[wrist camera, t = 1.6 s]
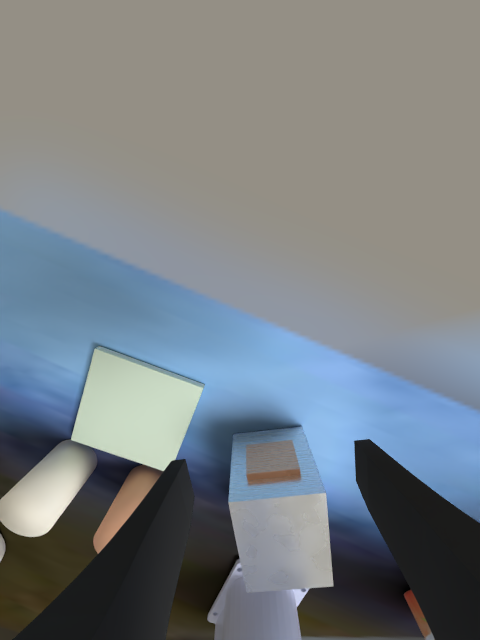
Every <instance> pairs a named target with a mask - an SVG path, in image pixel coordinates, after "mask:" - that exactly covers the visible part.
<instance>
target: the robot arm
mask: <svg viewBox="0 0 480 640" xmlns="http://www.w3.org/2000/svg"><path fill="white" fill-rule="evenodd" d="M354 443H355V467H356V482H357V484H358V487H359V489H360V491H361V494H362V496H363V499H364V501H365V503H366V505H367V508H368V510H369V512H370V514H371V516H372V518H373V520H374V521H375V523H376V525H377V527H378V529H379V531H380V533H381V535H382V536H383V538H384V540H385V542H386V544H387V546H388V548H389V549H390V551H391V553H392V555H393V557H394V559H395V560H396V562H397V564H398V566H399V568H400V570H401V572H402V573H403V575H404V577H405V579H406V581H407V583H408V585H409V586H410V588H411V590H412V592H413V594H414V596H415V598H416V600H417V602H418V604H419V606H420V608H421V610H422V613H423V615H424V617H425V619H426V621H427V623H428V626H429V628H430V630H431V632H432V634H433V636H434V639H435V640H480V523H478V522H477V521H475V520H474V519H473V518H471V517H470V516H468V515H467V514H465V513H464V512H462V511H461V510H460V509H458V508H457V507H455V506H454V505H453V504H451V503H450V502H448V501H447V500H446V499H444V498H443V497H441V496H440V495H439V494H437V493H436V492H435V491H433V490H432V489H431V488H429V487H428V486H427V485H426V484H424V483H423V482H422V481H420V480H419V479H418V478H417V477H415V476H414V475H413V474H411V473H410V472H409V471H408V470H406V469H405V468H404V467H403V466H401V465H400V464H399V463H398V462H397V461H395V460H394V459H393V458H392V457H390V456H389V455H388V454H387V453H386V452H384V451H383V450H382V449H381V448H380V447H378V446H377V445H376V444H375V443H373V442H372V441H371V440H370V439H367V440H358V441H354ZM193 504H194V493H193V489H192V485H191V480H190V476H189V472H188V468H187V464H186V460H185V459H182V460H173V461H171V462H170V463H169V465H168V466H167V467H166V469H165V470H164V472H163V473H162V474H161V476H160V477H159V478H158V480H157V481H156V482H155V484H154V485H153V487H152V488H151V489H150V491H149V492H148V493H147V495H146V496H145V497H144V499H143V500H142V501H141V503H140V504H139V505H138V506H137V508H136V509H135V510H134V512H133V513H132V514H131V516H130V517H129V518H128V519H127V520H126V522H125V523H124V524H123V525H122V527H121V528H120V529H119V530H118V531H117V533H116V534H115V535H114V536H113V538H112V539H111V540H110V541H109V542H108V543H107V545H106V546H105V547H104V548H103V549H102V550H101V551H100V553H99V554H98V555H97V556H96V557H95V558H94V559H93V560H92V561H91V563H90V564H89V565H88V566H87V567H86V568H85V569H84V570H83V571H82V572H81V573H80V574H79V575H78V576H77V578H76V579H75V580H74V581H73V582H72V583H71V584H70V585H69V586H68V587H67V588H66V589H65V590H64V591H63V592H62V593H61V594H60V595H59V596H58V597H57V598H56V599H55V600H54V601H53V602H52V603H51V604H50V605H49V606H48V607H47V608H46V609H45V610H44V611H43V612H42V613H41V614H39V615H38V616H37V617H36V618H35V619H34V620H33V621H32V622H31V623H30V624H29V625H28V626H27V627H26V628H25V629H24V630H22V631H21V632H20V633H19V634H18V635H17V636H16V637H15V638H14V639H13V640H165V639H166V633H167V627H168V622H169V617H170V612H171V608H172V603H173V599H174V595H175V590H176V586H177V582H178V578H179V573H180V569H181V565H182V561H183V557H184V552H185V548H186V544H187V539H188V535H189V531H190V526H191V519H192V512H193ZM308 590H309V588H305V589H291V590H278V591H265V592H252V593H246V588H245V583H244V578H243V573H242V568H241V563H240V559H238V560H237V561H236V563H235V565H234V567H233V568H232V570H231V572H230V574H229V576H228V578H227V580H226V581H225V583H224V585H223V587H222V589H221V591H220V593H219V594H218V596H217V598H216V600H215V602H214V604H213V606H212V607H211V609H210V611H209V613H208V618H207V619H208V621H209V622H211V623H214V624H216V625H215V637H214V640H301V634H300V627H299V620H298V614H297V606H298V605H299V603H300V602H301V600H302V599H303V597H304V596H305V594H306V593H307V591H308Z"/></svg>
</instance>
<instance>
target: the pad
mask: <svg viewBox="0 0 480 640" xmlns="http://www.w3.org/2000/svg"><path fill="white" fill-rule="evenodd" d="M204 385H205V384H202V383H199V382H196V381H194V380H191V379H188V378H185V377H183V376H180V375H177V374H175V373H172V372H169V371H166V370H164V369H161V368H158V367H155V366H153V365H150V364H147V363H145V362H142V361H139V360H136V359H134V358H131V357H128V356H125V355H123V354H120V353H117V352H115V351H112V350H109V349H106V348H104V347H101V346H99V347H97V348H95V350H94V353H93V357H92V361H91V365H90V369H89V372H88V376H87V380H86V384H85V388H84V392H83V395H82V399H81V403H80V407H79V411H78V414H77V418H76V422H75V426H74V430H73V433H72V437H71V440H72V441H75V442H78V443H81V444H84V445H87V446H90V447H93V448H96V449H99V450H102V451H105V452H108V453H111V454H114V455H117V456H120V457H123V458H126V459H129V460H132V461H135V462H138V463H141V464H144V465H147V466H150V467H153V468H156V469H159V470H161V471H164V470H165V469H166V467H167V466H168V465H169V463H170V462H171V461H173V460H175V459H176V456H177V454H178V451H179V449H180V446H181V444H182V441H183V439H184V436H185V434H186V431H187V429H188V426H189V423H190V421H191V418H192V416H193V413H194V411H195V408H196V406H197V403H198V401H199V398H200V396H201V393H202V391H203V388H204Z"/></svg>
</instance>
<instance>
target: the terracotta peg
mask: <svg viewBox="0 0 480 640" xmlns="http://www.w3.org/2000/svg"><path fill="white" fill-rule="evenodd" d="M163 472H164V471H161V470H159V469H156V468H153V467H150V466H147V465H140V466H137V467H135V468H133V469H132V470H131V471H130V473H129V474H128V476H127V478H126V480H125V482H124V483H123V485H122V487H121V489H120V491H119V492H118V494H117V496H116V498H115V500H114V501H113V503H112V505H111V507H110V509H109V510H108V512H107V514H106V516H105V517H104V519H103V521H102V523H101V525H100V526H99V528H98V530H97V532H96V534H95V536H94V539H93V543H94V547H95V550H96V551H97V553H98V554H99V553H100V551H101V550H102V549H103V548H104V547H105V546H106V545H107V543H108V542H109V541H110V540H111V539H112V538H113V536H114V535H115V534H116V533H117V531H118V530H119V529H120V528H121V527H122V525H123V524H124V523H125V522H126V520H127V519H128V518H129V517H130V516H131V514H132V513H133V512H134V510H135V509H136V508H137V506H138V505H139V504H140V503H141V501H142V500H143V499H144V497H145V496H146V495H147V493H148V492H149V491H150V489H151V488H152V487H153V485H154V484H155V482H156V481H157V480H158V478H159V477H160V476H161V474H162V473H163Z"/></svg>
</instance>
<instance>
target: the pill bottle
mask: <svg viewBox="0 0 480 640" xmlns="http://www.w3.org/2000/svg"><path fill="white" fill-rule="evenodd" d="M4 553H5V541H4V539H3V537H2V535H1V533H0V561H1V560H2V558H3V556H4Z"/></svg>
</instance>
